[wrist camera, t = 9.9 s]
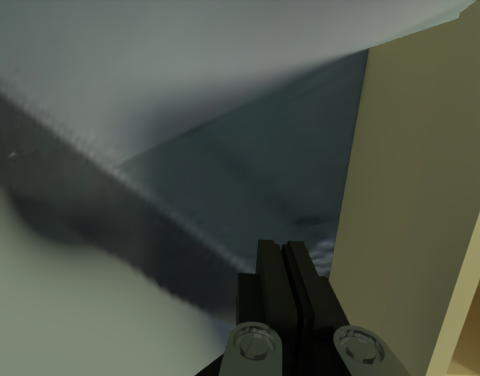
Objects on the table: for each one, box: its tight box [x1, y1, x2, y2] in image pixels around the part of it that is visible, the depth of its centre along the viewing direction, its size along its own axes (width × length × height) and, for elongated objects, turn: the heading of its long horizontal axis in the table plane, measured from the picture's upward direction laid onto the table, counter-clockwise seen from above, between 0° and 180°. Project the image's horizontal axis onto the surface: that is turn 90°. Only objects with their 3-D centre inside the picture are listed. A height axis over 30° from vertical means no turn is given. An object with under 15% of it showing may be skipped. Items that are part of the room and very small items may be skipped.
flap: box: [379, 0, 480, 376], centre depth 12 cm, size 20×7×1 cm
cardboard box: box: [329, 18, 480, 376], centre depth 20 cm, size 20×14×10 cm
